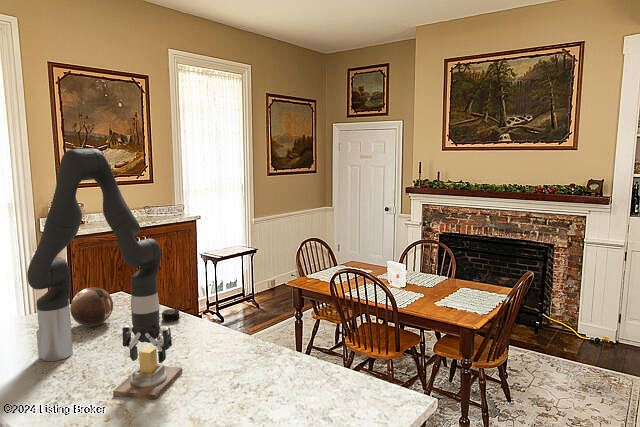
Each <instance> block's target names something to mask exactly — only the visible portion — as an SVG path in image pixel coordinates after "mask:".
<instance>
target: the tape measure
mask: <svg viewBox="0 0 640 427" xmlns="http://www.w3.org/2000/svg"><path fill="white" fill-rule="evenodd" d="M161 319H162V320H163V321H164V322H175V321H178V320H180V310H179V309H178V308H168V309H164V310H163V311H162V312H161Z"/></svg>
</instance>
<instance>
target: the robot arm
mask: <svg viewBox="0 0 640 427" xmlns="http://www.w3.org/2000/svg"><path fill="white" fill-rule="evenodd" d="M58 167H59V168H58V172H57V173H58V174H57V179H56V184H55V189H54V193H53V197H52V200H51V205H50V207H49V210H48V213H47V216H46V220H45V222H44V227H43V229H42V230H43V231H42V234H41V237H40V239H39V243H38V245H37V247H36V250H35V252H34V255H33V256H32V259H31V261H30V263H29V264H28V269H27V273H26V274H27V275H26V277H27V282H28V285H29V286H30V288H32V289H34V290H45V289H48V290H47V291H46V293H44V294H43V295H41V296H40V297H39V298H38V299H37V300H36V312H37V313H36V315H37V322H38V329H37V330H36V333H35V334H36V345H37V352H38V353H37V355H38V359H40V360H42V361H44V362H58V361H62V360H64V359H66V358H68V357H70V356H72V355H73V354H74V350H73V349H74V348H73V347H74V346H73V336H72V325H71V324H72V323H71V311H70V297H71V285H70V284H71V276H70V275H71V274H70V273H71V272H70V267H69V264H68V262H67V261H66V259H64V258H63V257H60V256H58V255H59V254H60V253H61V252H62V251H63V250H64V249H65V248H66V247H68V245H69V244H70V243H71V242H72V241H73V240H74V239H75V237H76V236H77V234H78V232H79V229H80V226H81V223H82V220H83V212H82V209H81V207H80V204H79V202H78V199H77V197H76V195H77V191H78V188H79V185H80V184H81V182H82V181H92V180H94V181H95V183H96V184H97V185H98V186H99V188H100V190H101V193H102V212H103V216H104V218H105V219H104V220H106V223H107V224H108V226H109V227H110V229H111V231H112V232H113V234H114V235H115V237H116V242H117V245H118V248H119V249H118V250H119V251H120V255H121V258H122V260H123V261H124V262H125V264H126V265H128V266H129V267H131V268H139V269H138V271H136V272H135V273H134V274H132V275H131V276H130V294H131V297H130V312H131V324H129V323H128V324H127V325H125V326H124V327H122V347H124V348H125V347H126V348H128V349H129V358H130V359H131V361H133V362H135V361H136V360H137V359H139V352H138V346H137V345H138V344H139V342H140V343H147V344H152V345H153V346H154V347H155V348H156V350H157V356H158V357H157V361H158V364H163V363H164V361H165V360H166V358H167V353H166V351H168V350H169V349H170V348H171V347H172V346H173V343H172V342H173V341H172V331H171V327H169V326H167V327H166V328H162V327H161V326H160V321H161V320H160V318H161V317H160V301H159V300H160V299H159V295H158V294H159V293H158V282H157V278H158V274H159V269H160V265H161V259H162V250H161V246H160V244H159V243H158V242H157V240H155V239H154V238H144V239H141V240H137V239H136V237H135V236H136V235H138V233H139V232H140V230H141V226H140V223H139V221H138V220H137V219H136V217H135V215H134V214H133V212H132V211H131V209H130V208H129V206H128V204H127V203H126V201H125V198H124V197H123V195H122V193H121V192H122V191H121V190H120V187H119V186H118V182H117V180H116V178H115V176H114V173H113V171H112V168H111V166H110V164H109V162H108V160H107V158H106V156H105V155H104V153H103V152H102V150H101V151H100V149H97V148H74V149H69V150H66V151H65V152H64V153H63V155H62V157H61V159H60V163H59V166H58ZM132 333H133V335H134V337H133V339H132ZM160 334H161V335H160Z"/></svg>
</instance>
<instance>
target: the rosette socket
mask: <svg viewBox="0 0 640 427" xmlns="http://www.w3.org/2000/svg"><path fill="white" fill-rule="evenodd" d="M182 373H183V367H181V366H180V367H178V366H166V365H165V364H161V363H157V370H156V371H155V372H154V373H153V374H148V373H140V366H139V367H138V368H137V369H136V370H135V371H134V372H133V373H132V374H130V375H129V376H128V377H127V378H126V379H125V380H124V381H123V382H121V384H119V385H118V386H117V387H115V388H114V389H113V391H112V395H113V397H121V398H123V397H124V398H133V399H140V400H141V399H144V400H151V401H152V400H153V401H154V400H155V401H156V400H158V399H159V397H161V396H162V394H164V392H165V391H166V390H167V389H168V388H169V387H170V386H171V385H172V384H173V383H174V382H175V381H176V379H178V378H179V376H180V375H181V374H182ZM172 382H173V383H172Z"/></svg>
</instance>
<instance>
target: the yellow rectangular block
mask: <svg viewBox="0 0 640 427" xmlns="http://www.w3.org/2000/svg"><path fill="white" fill-rule="evenodd" d="M157 356H158V352H157V347H152V346H145V347H143V348H142V349H141V350H140V351H139V352H138V359H139V367H140V373H148V374H153V373H154V372H155V371H156V370H157V364H158V357H157Z"/></svg>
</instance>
